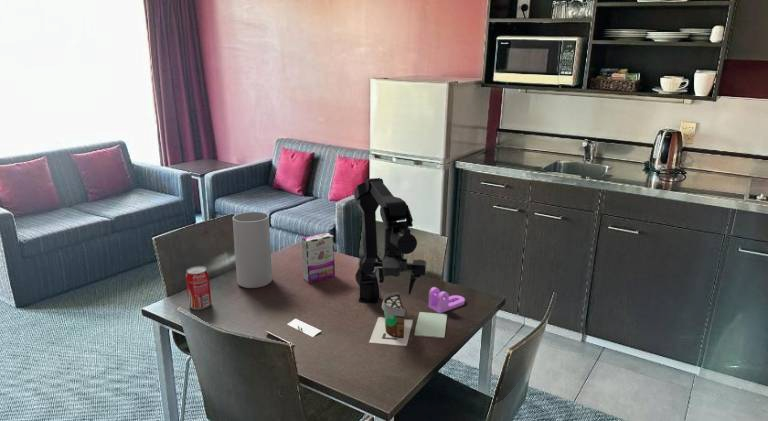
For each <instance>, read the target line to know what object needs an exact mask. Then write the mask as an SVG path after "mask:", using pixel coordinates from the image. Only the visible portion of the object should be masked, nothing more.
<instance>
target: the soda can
mask: <svg viewBox="0 0 768 421" xmlns="http://www.w3.org/2000/svg"><path fill="white" fill-rule="evenodd" d="M185 282H186V292H187V301H188V306H189V308H190V309H191V310H195V311H200V310H204V309H207V308H209V307H210V306H211V304H212V296H211V286H210V276H209V271H208V269H207V267H205V266H204V265H203V266H202V265H198V266H191V267H189V268H188V269H186V274H185Z"/></svg>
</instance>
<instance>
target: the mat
mask: <svg viewBox="0 0 768 421" xmlns="http://www.w3.org/2000/svg"><path fill="white" fill-rule="evenodd" d="M447 319H448V314H446V313H438V312H435V313H434V312H423V311H419V312H418V317H417V321H416V324H415V330H414V333H413V334H414V335H413V336H416V337H427V338H439V339H445V336H446V326H447Z"/></svg>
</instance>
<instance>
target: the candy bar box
mask: <svg viewBox="0 0 768 421" xmlns="http://www.w3.org/2000/svg"><path fill="white" fill-rule="evenodd" d="M301 255H302V272H303V273H302V275H303V280H304V281H306V282H307V283H308V284H310V283H315V282H319V281H323V280H326V279H330V278H335V277H336V269H335V266H336V265H335V240H334V235H333V234H332V233H329V232H325V233H319V234H315V235H310V236H305V237H301Z"/></svg>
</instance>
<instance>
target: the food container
mask: <svg viewBox="0 0 768 421" xmlns="http://www.w3.org/2000/svg"><path fill="white" fill-rule="evenodd" d="M381 309H382V311H383V312H384V313H383V315H384V318H385V329H386V333H387V334H388V335H390V336H392V337H396V338H404V319H405V316H406V314H405V313H406V312H405V311H406V310H405V309H406V308H404V306H403V302H402V298H401V291H400V292H393V293H390V294H387V295H386V296H385V297H384V298H383V300H382V303H381Z"/></svg>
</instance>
